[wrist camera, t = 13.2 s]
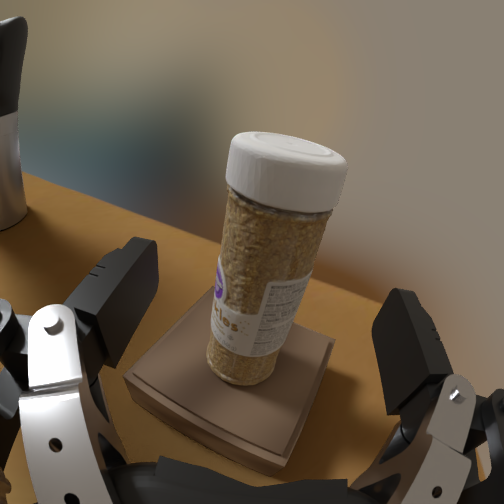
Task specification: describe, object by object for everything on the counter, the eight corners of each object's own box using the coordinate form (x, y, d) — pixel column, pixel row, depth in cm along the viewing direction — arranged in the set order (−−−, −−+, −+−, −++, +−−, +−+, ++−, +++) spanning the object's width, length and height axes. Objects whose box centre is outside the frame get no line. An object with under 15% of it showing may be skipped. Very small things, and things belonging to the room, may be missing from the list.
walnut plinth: (132, 399, 17) (121, 372, 14) (209, 314, 25) (212, 282, 23) (270, 476, 14) (286, 465, 11) (320, 365, 22) (337, 336, 20)
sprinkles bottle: (195, 342, 18) (213, 126, 10) (254, 326, 20) (301, 133, 13) (225, 399, 15) (275, 157, 7) (288, 374, 17) (374, 166, 9)
